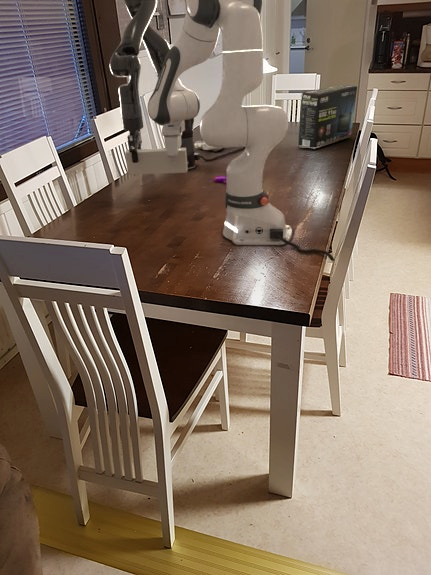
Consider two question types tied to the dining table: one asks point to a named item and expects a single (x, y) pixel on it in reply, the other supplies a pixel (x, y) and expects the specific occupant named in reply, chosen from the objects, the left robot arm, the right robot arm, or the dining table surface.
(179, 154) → the bar
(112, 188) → the dining table surface
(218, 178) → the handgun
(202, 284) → the dining table surface
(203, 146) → the fossil
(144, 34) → the left robot arm
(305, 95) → the router box
